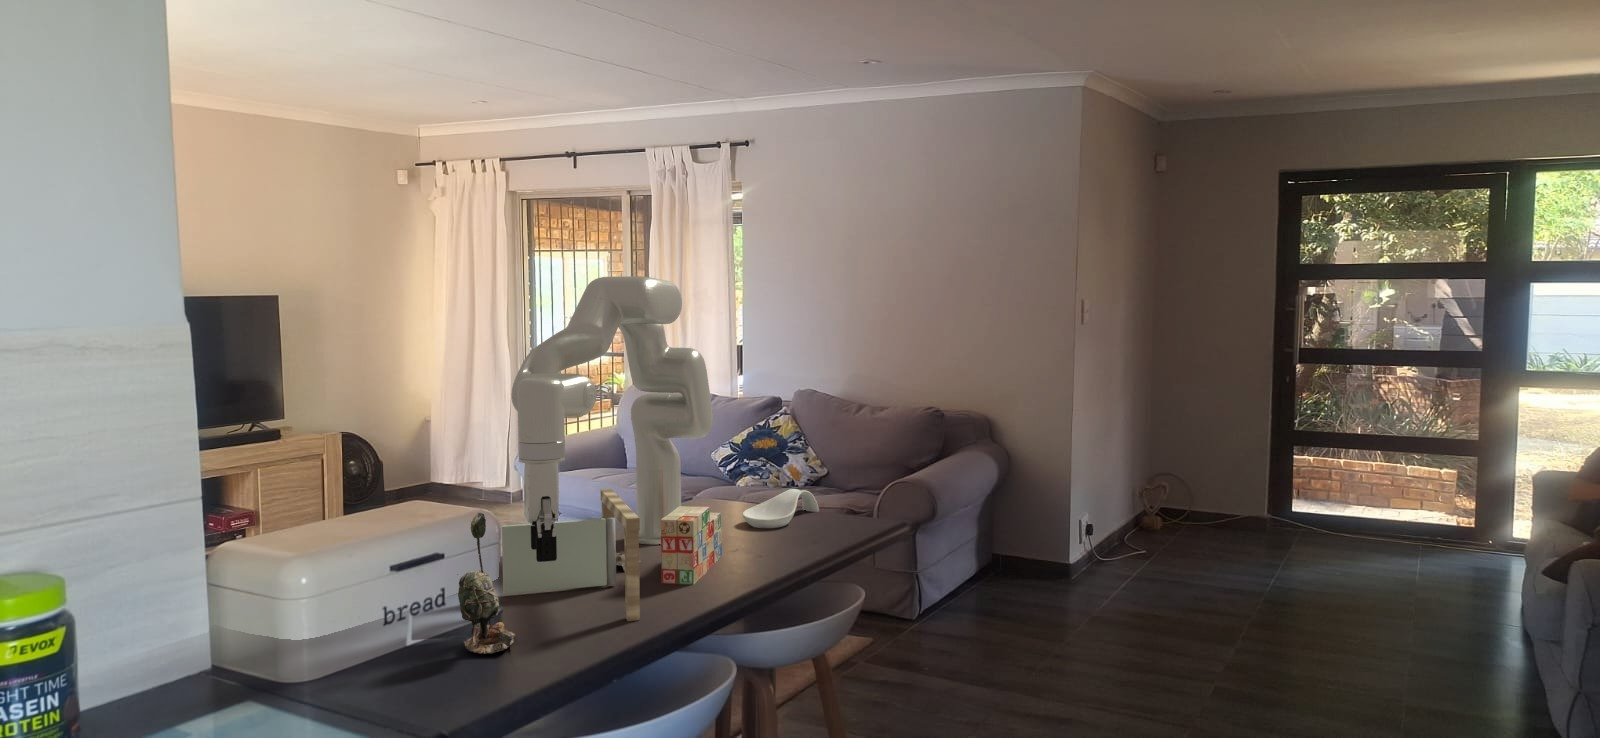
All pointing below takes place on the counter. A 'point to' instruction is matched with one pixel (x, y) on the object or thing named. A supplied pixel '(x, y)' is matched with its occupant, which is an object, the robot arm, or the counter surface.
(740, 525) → the counter surface
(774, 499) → the spoon rest
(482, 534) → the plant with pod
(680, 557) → the stack of blocks
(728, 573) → the counter surface
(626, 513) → the door frame
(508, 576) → the door
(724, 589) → the counter surface
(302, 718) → the counter surface
